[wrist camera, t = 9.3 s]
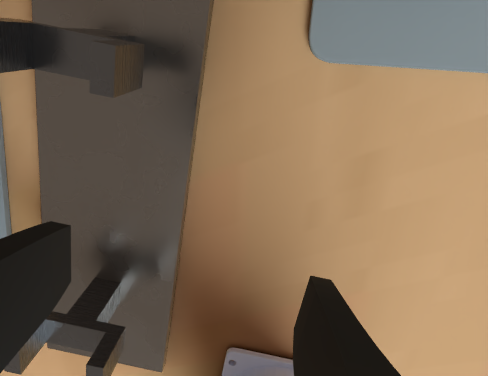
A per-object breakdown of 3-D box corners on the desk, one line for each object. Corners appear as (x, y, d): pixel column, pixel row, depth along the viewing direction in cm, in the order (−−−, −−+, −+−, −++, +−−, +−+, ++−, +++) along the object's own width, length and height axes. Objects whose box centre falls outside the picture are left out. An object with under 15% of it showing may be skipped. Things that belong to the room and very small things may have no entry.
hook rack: (165, 362, 25) (129, 465, 19) (54, 338, 25) (-17, 433, 19) (224, -82, 15) (186, -162, 9) (38, -119, 15) (-123, -221, 9)
